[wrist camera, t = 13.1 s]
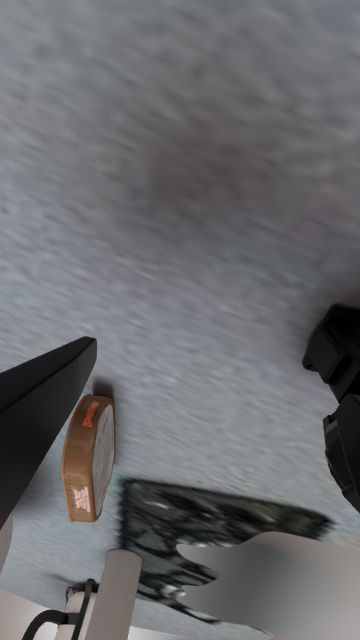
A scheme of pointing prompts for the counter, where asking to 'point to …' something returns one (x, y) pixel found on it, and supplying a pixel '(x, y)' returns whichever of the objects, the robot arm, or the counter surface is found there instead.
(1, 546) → the bowl
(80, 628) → the coffee press
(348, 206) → the counter surface
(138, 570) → the bottle
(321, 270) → the counter surface
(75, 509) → the tin
